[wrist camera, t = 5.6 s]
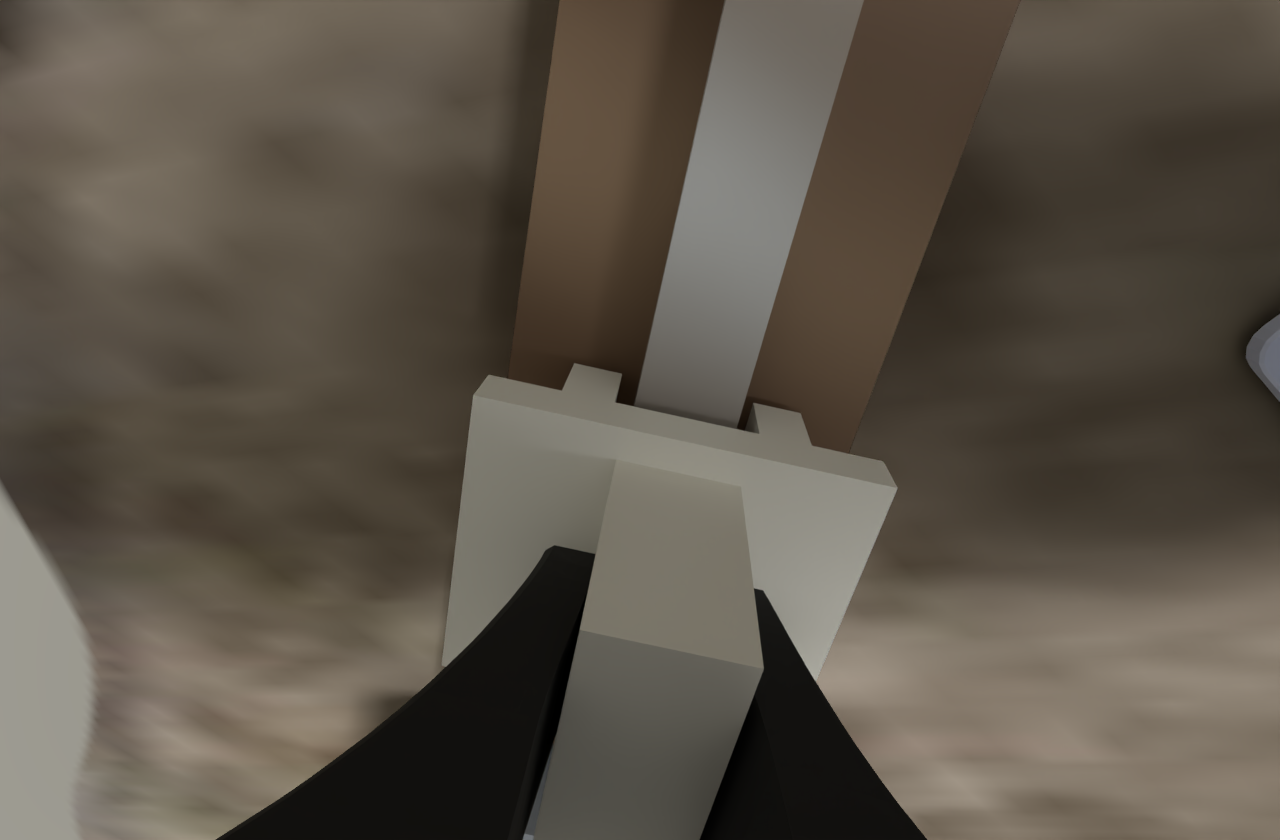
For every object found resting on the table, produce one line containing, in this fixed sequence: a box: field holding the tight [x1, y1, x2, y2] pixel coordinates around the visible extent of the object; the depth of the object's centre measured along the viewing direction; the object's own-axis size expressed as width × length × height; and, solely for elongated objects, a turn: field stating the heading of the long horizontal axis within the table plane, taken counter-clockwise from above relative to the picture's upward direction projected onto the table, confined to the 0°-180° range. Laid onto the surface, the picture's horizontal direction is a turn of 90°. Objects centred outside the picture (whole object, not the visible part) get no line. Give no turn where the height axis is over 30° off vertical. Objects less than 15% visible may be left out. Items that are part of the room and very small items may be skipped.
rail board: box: [507, 0, 1021, 744], centre depth 12 cm, size 18×6×2 cm, turn 168°
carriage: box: [442, 363, 898, 840], centre depth 10 cm, size 5×6×6 cm
